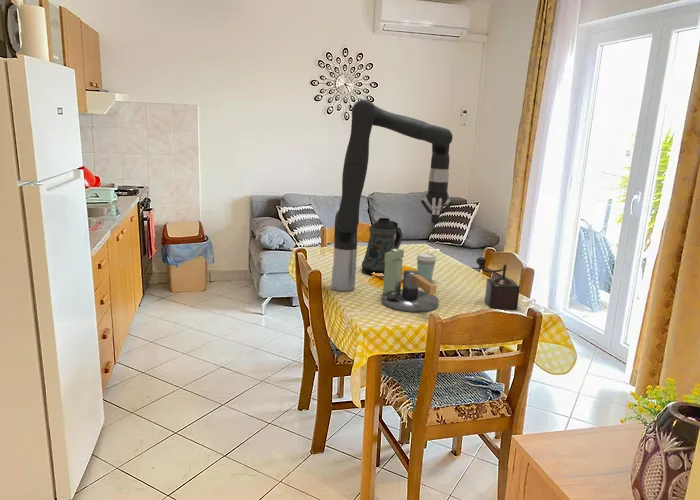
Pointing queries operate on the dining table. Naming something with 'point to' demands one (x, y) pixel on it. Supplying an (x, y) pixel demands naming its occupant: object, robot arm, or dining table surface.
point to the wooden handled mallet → (416, 285)
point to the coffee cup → (426, 265)
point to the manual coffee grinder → (500, 289)
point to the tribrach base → (394, 292)
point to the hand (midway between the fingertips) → (434, 223)
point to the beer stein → (380, 245)
